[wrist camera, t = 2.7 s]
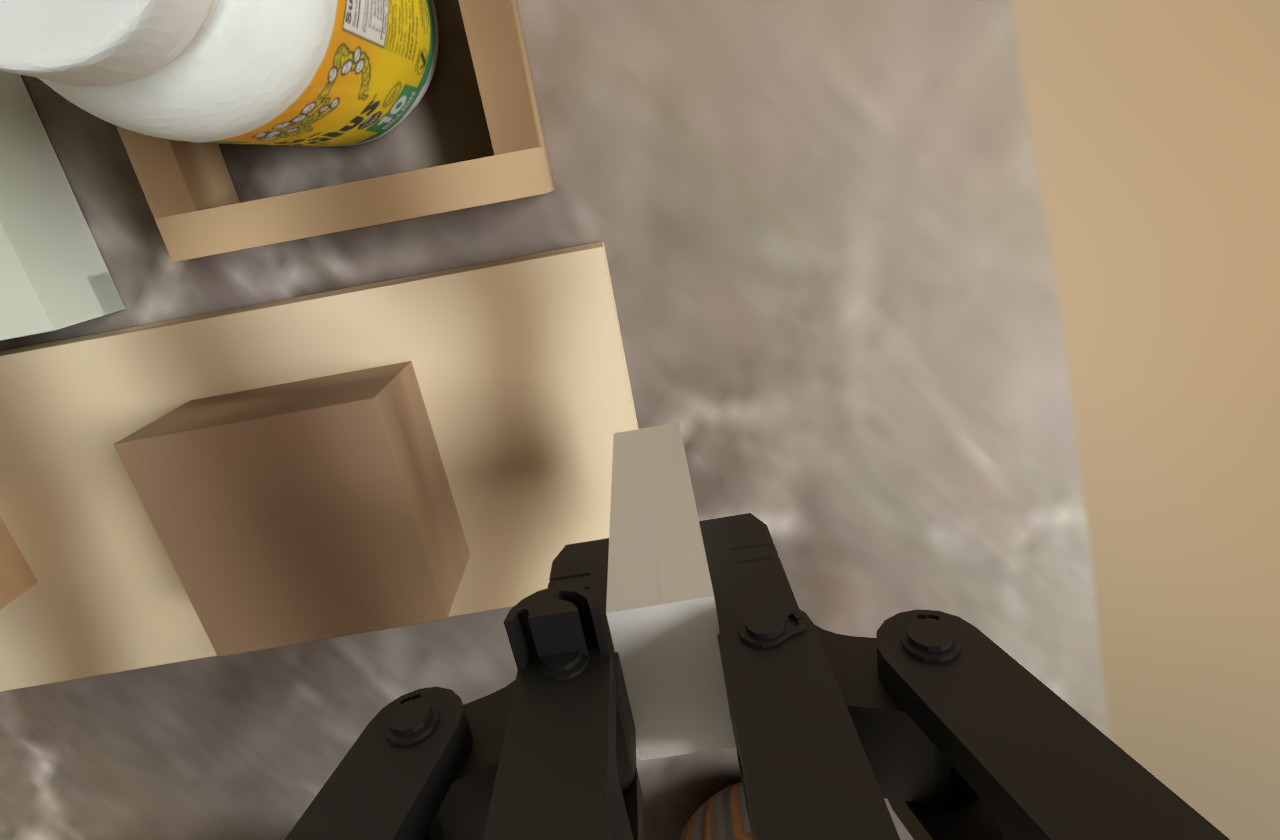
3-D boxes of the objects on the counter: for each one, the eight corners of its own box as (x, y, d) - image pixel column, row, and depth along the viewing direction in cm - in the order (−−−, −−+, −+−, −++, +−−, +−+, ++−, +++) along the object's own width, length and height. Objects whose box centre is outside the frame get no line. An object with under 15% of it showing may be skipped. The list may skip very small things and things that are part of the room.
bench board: (-28, 674, 22) (-205, 817, 18) (-215, 390, 19) (-504, 470, 14) (662, 559, 22) (676, 673, 17) (603, 241, 18) (599, 271, 13)
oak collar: (218, 251, 18) (172, 262, 16) (55, -169, 15) (-26, -217, 13) (554, 189, 18) (547, 193, 16) (463, -252, 14) (440, -314, 13)
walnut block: (272, 588, 20) (217, 656, 17) (190, 400, 18) (112, 444, 15) (470, 554, 20) (447, 618, 17) (411, 360, 18) (373, 398, 15)
